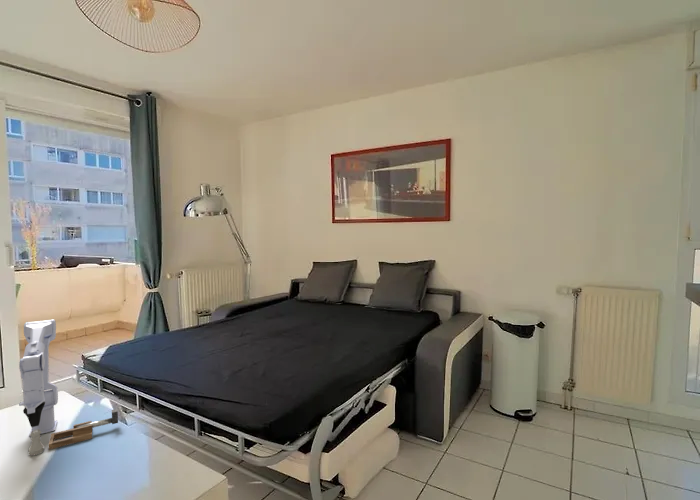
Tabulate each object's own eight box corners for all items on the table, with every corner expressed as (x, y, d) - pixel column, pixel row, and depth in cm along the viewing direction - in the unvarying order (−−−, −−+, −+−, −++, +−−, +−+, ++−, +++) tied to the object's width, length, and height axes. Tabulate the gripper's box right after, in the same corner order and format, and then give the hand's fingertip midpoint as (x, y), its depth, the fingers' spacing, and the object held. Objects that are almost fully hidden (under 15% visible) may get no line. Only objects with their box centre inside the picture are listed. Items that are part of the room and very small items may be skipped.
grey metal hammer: (77, 429, 146) (76, 418, 146) (117, 419, 153) (117, 408, 153) (76, 433, 143) (76, 421, 143) (118, 422, 151) (117, 411, 150)
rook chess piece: (35, 456, 132) (34, 434, 132) (25, 455, 133) (23, 433, 133) (47, 449, 136) (46, 428, 136) (37, 448, 137) (36, 427, 137)
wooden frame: (51, 438, 144) (51, 428, 144) (92, 428, 151) (91, 418, 151) (48, 449, 136) (48, 438, 136) (91, 438, 143) (91, 427, 143)
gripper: (22, 384, 138) (24, 420, 138) (14, 398, 126) (16, 437, 126) (46, 380, 142) (48, 415, 142) (41, 393, 129) (43, 431, 130)
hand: (35, 425), depth 134 cm, fingers closed
